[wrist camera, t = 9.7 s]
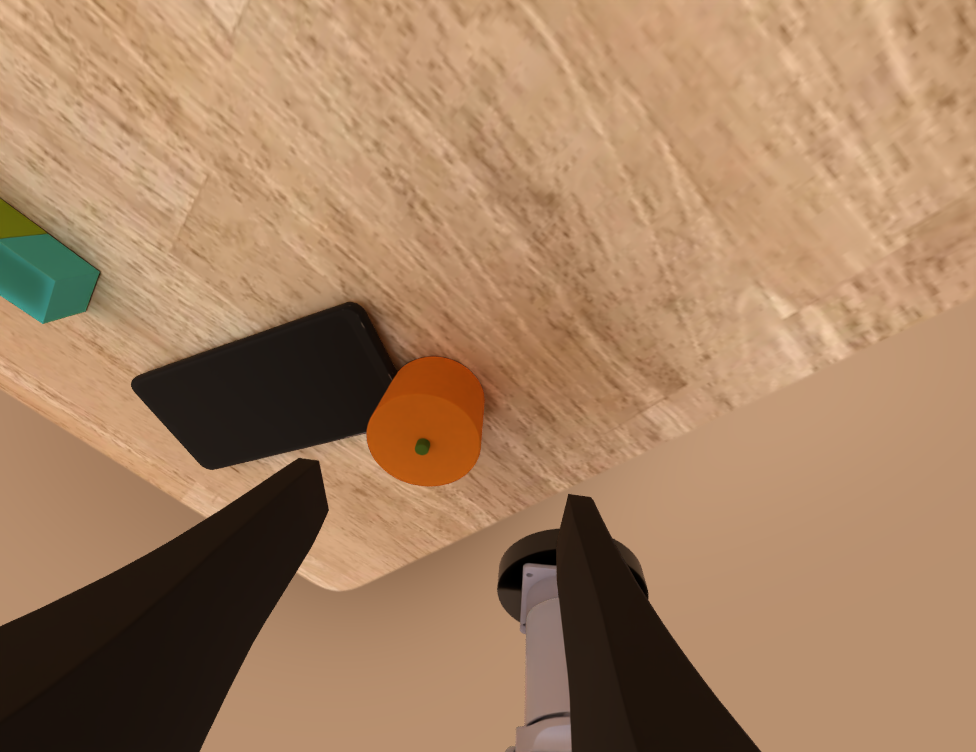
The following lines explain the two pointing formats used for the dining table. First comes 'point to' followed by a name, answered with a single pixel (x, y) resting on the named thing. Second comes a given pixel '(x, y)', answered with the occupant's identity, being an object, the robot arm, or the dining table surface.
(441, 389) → the mandarin
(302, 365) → the smartphone
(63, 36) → the dining table surface
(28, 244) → the chart
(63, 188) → the dining table surface
